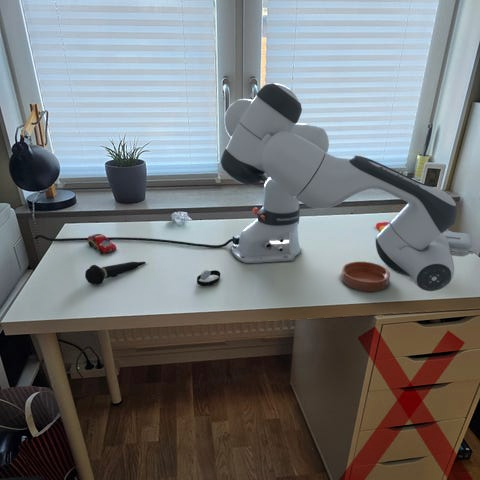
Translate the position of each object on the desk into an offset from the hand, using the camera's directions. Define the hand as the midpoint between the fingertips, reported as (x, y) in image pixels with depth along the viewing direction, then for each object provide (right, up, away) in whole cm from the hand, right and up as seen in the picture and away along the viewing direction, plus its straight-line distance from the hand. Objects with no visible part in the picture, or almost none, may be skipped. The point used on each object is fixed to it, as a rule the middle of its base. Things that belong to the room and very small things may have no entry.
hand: (425, 229), depth 118 cm
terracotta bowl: (-14, -13, +10) cm, 21 cm away
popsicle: (+5, +6, +40) cm, 41 cm away
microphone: (-85, -12, +11) cm, 87 cm away
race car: (-95, -1, +28) cm, 99 cm away
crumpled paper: (-72, +13, +49) cm, 88 cm away
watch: (-58, -14, +8) cm, 61 cm away
